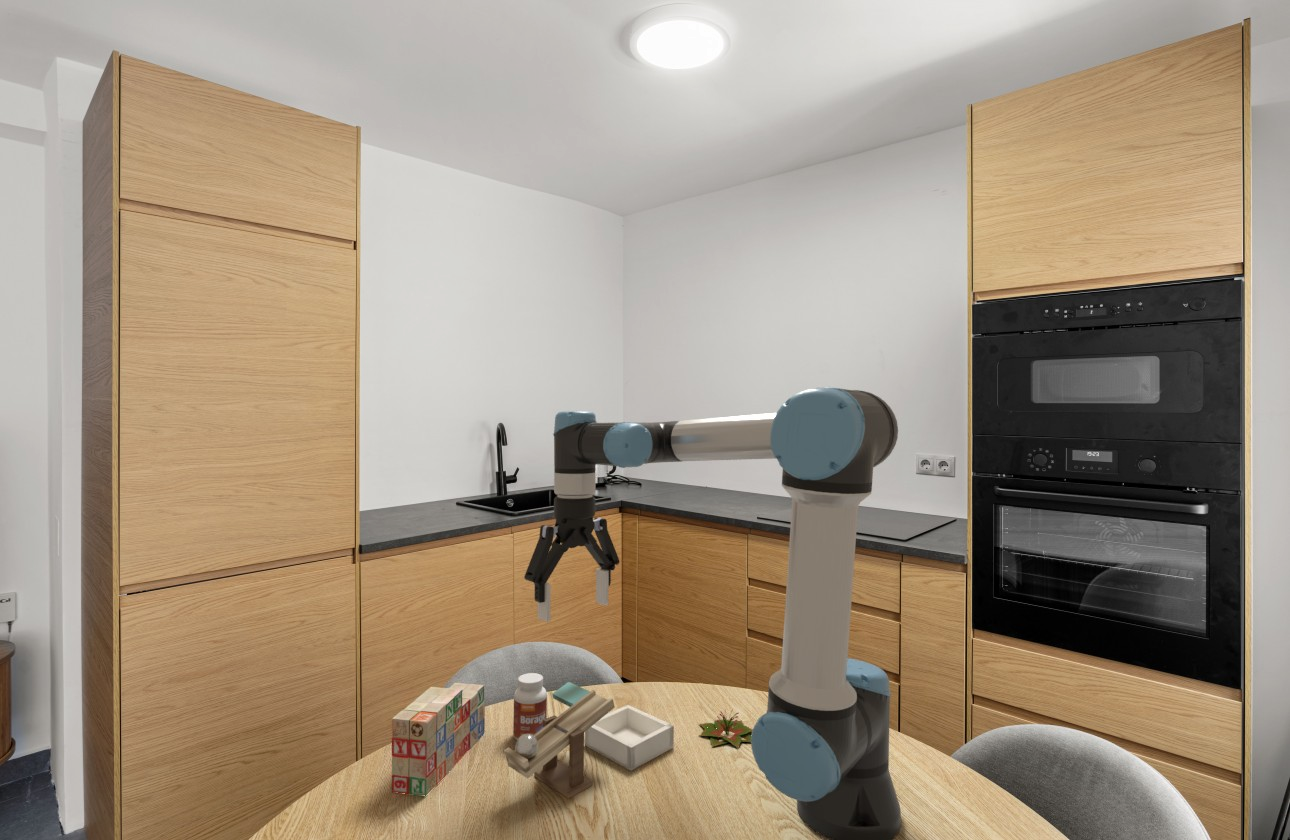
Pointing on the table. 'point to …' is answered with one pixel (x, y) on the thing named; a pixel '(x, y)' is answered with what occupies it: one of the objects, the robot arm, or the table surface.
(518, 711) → the pill bottle
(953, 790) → the table surface
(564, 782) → the fulcrum
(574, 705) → the lever
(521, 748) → the ball
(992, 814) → the table surface
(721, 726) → the lily flower
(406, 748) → the stack of blocks
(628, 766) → the white square tray
